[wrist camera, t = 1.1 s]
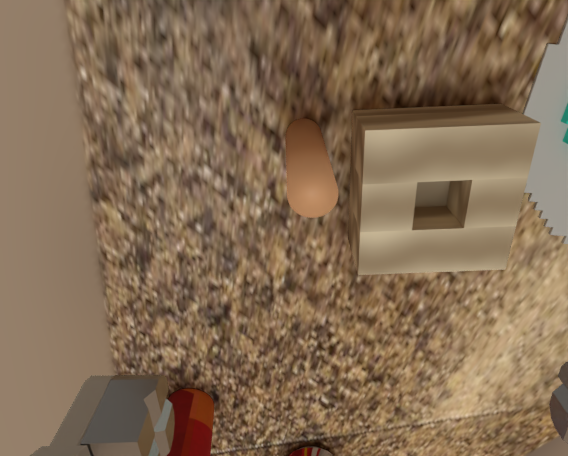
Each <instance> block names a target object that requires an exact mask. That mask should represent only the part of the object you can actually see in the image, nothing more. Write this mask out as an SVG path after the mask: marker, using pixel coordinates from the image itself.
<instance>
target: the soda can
mask: <svg viewBox="0 0 568 456" xmlns="http://www.w3.org/2000/svg"><path fill="white" fill-rule="evenodd" d="M289 456H333V455H332V454H331V453H330V452H328V451H327V450H324V449H322V448H319V447H315V446H307V447H302V448H300V449H298V450H296V451H294V452H292V453H291V454H290V455H289Z"/></svg>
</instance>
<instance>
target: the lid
mask: <svg viewBox="0 0 568 456" xmlns="http://www.w3.org/2000/svg"><path fill="white" fill-rule="evenodd" d="M522 114H524V115H526V116H528V117H530V118H532V119H534V120H536V121H538V122H540V123H541V125H540V130H539V134H538V138H537V142H536V146H535V150H534V154H533V158H532V162H531V166H530V171H529V175H528V179H527V183H526V187H525V191H524V192H525V193H530V195H529V198H528V201H533V202H536V203H535V205H534V208H533V209H534V210H541V212H540V214H539V218H541V219H546V221H545V223H544V226H545V227H551V229H550V231H549V234H550V235H559V236H564V238H563V240H562V243H564V244H568V15H567V18H566V21H565V24H564V26H563V29H562V32H561V35H560V37H559V40H558V43H557V44H546V47H545V50H544V53H543V56H542V59H541V62H540V64H539V67H538V70H537V73H536V76H535V79H534V82H533V84H532V87H531V90H530V93H529V96H528V99H527V102H526V105H525V107H524V110H523V113H522Z"/></svg>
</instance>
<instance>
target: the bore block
mask: <svg viewBox="0 0 568 456" xmlns="http://www.w3.org/2000/svg"><path fill="white" fill-rule="evenodd" d="M540 125H541V123H540V122H538V121H536V120H534V119H532V118H530V117H528V116H526V115H524V114H522V113H519V112H517V111H515V110H513V109H511V108H509V107H507V106H505V105H503V104H483V105H460V106H437V107H414V108H391V109H368V110H352V137H351V167H350V196H349V226H348V240H349V244H350V247H351V251H352V255H353V258H354V262H355V265H356V269H357V273H358V275H370V274H396V273H422V272H449V271H475V270H502V269H506V265H507V261H508V257H509V253H510V248H511V244H512V240H513V236H514V232H515V228H516V224H517V220H518V216H519V212H520V207H521V203H522V199H523V195H524V191H525V187H526V183H527V179H528V175H529V171H530V166H531V162H532V158H533V154H534V150H535V146H536V142H537V138H538V134H539V130H540Z"/></svg>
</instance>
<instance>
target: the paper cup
mask: <svg viewBox="0 0 568 456" xmlns="http://www.w3.org/2000/svg"><path fill="white" fill-rule="evenodd" d="M168 401H170V402H171V403H172V404H173V410H174V420H175V425H174V435H173V441H172V446H171V450H170V452H169V453H168V454H167V456H210V451H211V441H212V430H213V417H214V402H213V400H212V398H211V397H210V396H209V395H208V394H207V393H205V392H203V391H201V390H198V389H193V388H185V389H180V390H177V391H175V392H174V393H172V394H171V395H170V397H169V399H168Z"/></svg>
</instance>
